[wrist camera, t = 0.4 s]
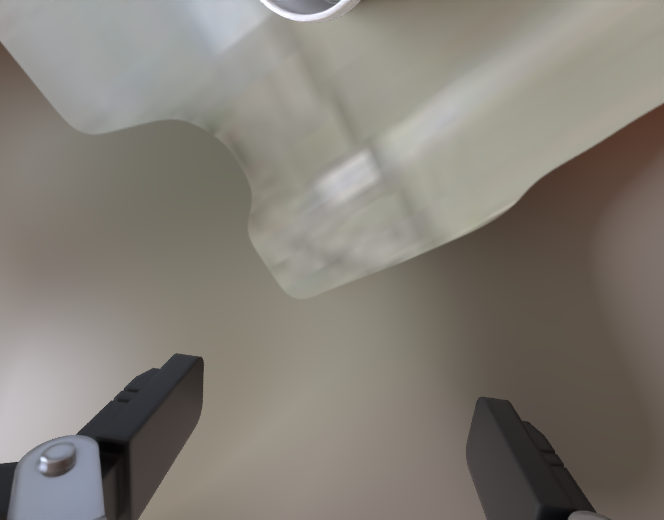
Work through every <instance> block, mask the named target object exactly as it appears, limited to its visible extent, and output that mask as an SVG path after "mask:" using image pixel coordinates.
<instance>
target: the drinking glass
mask: <svg viewBox="0 0 664 520" xmlns="http://www.w3.org/2000/svg"><path fill="white" fill-rule="evenodd" d="M260 1H261V2H262V3H263V4H265V5H266V6H267V7H268V8H269V9H271V10H272V11H273V12H275V13H277V14H279V15H281V16H283V17H285V18H288V19H291V20H296V21H301V22H309V23H319V22H326V21H330V20H333V19H336V18H338V17H341V16H343V15H344V14H346V13H347V12H349V11H350V10H352V9H353V8H354V7H355V6H356V5H357V4H358V3H359V2H360V1H361V0H260Z"/></svg>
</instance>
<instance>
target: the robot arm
mask: <svg viewBox="0 0 664 520" xmlns="http://www.w3.org/2000/svg"><path fill="white" fill-rule="evenodd" d="M203 372H204V362H203V359H202V357H198V356H191V355H183V354H174V355H173V356H172V357H171V358H170V359H169V360H168V362H166V363H165V364H164V365H163V366H162V367H161V369H156V368H152V369H151V370H149V371H147V372H145V373H143V374H141V375H139V376H137V377H135V378H134V379H133V380H132V381H131V382H130V383H129V384H128V385H127V386H126V387H125V388H124V391H121V392H120V393H119V394H118V395H117V396H116V397H115V398H114V400H113V401H110V402H109V403H108V404H107V405H106V406H105V407H104V408H103V409H102V410H101V411H100V412H99V413H98V414H97V415H96V416H95V417H94V418H93V419H92V420H91V421H90V422H89V423H87V425H85V426H84V427H83V428H82V429H81V430H80V431H79V432H78V433H77V434H76V435H70V436H63V437H58V438H55V439H52V440H49V441H47V442H45V443H42V444H40V445H38V446H37V447H35V448H33V449H32V450H31V451H29V452H28V453H27V454H26V455H25V456H24V457H22V459H21V460H20V461H19V462H13V463H3V464H0V520H138V519H139V517H140V515H141V514H142V512H143V510H144V509H145V507H146V506H147V504H148V502H149V501H150V499H151V498H152V496H153V495H154V493H155V491H156V490H157V488H158V486H159V485H160V483H161V482H162V480H163V478H164V477H165V475H166V474H167V472H168V470H169V469H170V467H171V465H172V464H173V462H174V461H175V459H176V457H177V455H178V454H179V453H180V451H181V449H182V448H183V446H184V445H185V443H186V441H187V439H188V438H189V436H190V435H191V433H192V432H193V430H194V428H195V427H196V425H197V423H198V420H199V418H200V414H201V410H202V402H203ZM466 459H467V465H468V468H469V471H470V474H471V477H472V479H473V482H474V485H475V488H476V491H477V493H478V496H479V499H480V502H481V505H482V508H483V510H484V513H485V516H486V518H487V520H611V519H609V518H607V517H605V516H603V515H601V514H598V513H597V512H596V511H595V510H594V508H593V507H592V505H591V504H590V502H589V501H588V499H587V498H586V496H585V495H584V493H583V492H582V491H581V489H580V487H579V486H578V485H577V483H576V481H575V480H574V479H573V477H572V476H571V474H570V473H569V471H568V470H567V468H564V464H563V462H562V461H561V459H560V458H559V456H558V455H557V454H555V450H554V449H553V448H552V446H551V445H550V443H549V442H548V440H547V439H546V437H545V436H544V435H543V434H542V433H541V432H540V431H538V430H537V429H536V428H535V427H534V426H532V425H531V424H530V423H529V422H526V421H522V420H521V419H520V417H519V415H518V414H517V412H516V411H515V409H514V408H513V406H512V404H511V403H510V402H509V401H507V400H501V399H494V398H487V397H480V398H479V399H478V400H477V403H476V407H475V411H474V415H473V419H472V423H471V428H470V431H469V436H468V440H467V446H466Z"/></svg>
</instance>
